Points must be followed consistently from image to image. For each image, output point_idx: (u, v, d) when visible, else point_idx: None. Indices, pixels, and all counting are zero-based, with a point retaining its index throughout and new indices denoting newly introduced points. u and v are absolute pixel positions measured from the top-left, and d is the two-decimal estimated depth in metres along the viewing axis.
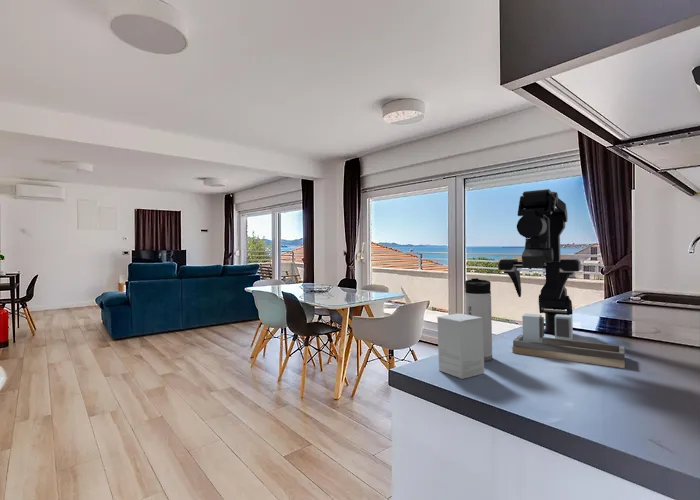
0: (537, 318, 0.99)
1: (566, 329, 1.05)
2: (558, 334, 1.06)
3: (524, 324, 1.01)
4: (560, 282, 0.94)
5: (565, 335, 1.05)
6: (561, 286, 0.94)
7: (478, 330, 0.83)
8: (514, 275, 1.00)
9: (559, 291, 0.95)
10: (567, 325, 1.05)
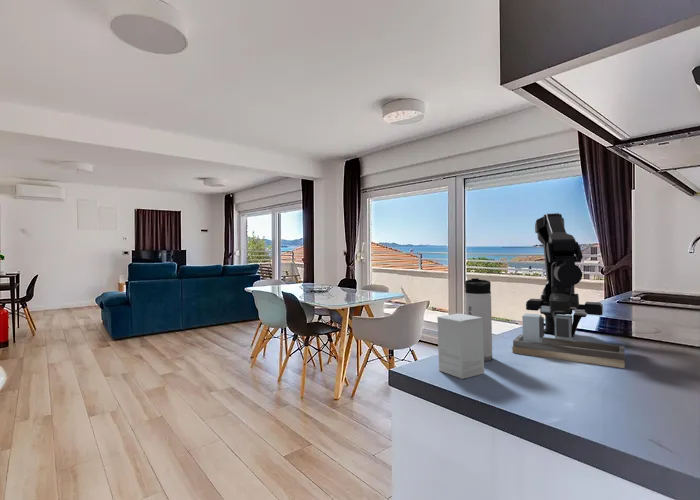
0: (537, 318, 0.99)
1: (566, 329, 1.05)
2: (558, 334, 1.06)
3: (524, 324, 1.01)
4: (574, 323, 1.05)
5: (565, 335, 1.05)
6: (575, 326, 1.05)
7: (478, 330, 0.83)
8: (550, 316, 1.07)
9: (573, 331, 1.05)
10: (567, 325, 1.05)
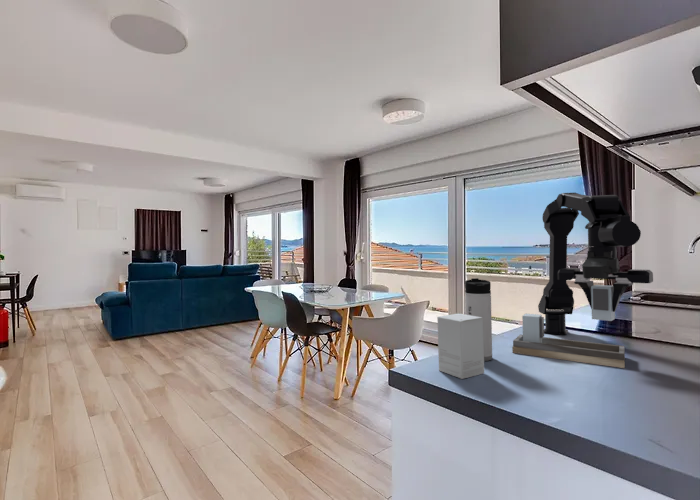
0: (537, 318, 0.99)
1: (605, 301, 0.89)
2: (595, 307, 0.91)
3: (524, 324, 1.01)
4: (615, 294, 0.89)
5: (604, 308, 0.89)
6: (616, 298, 0.89)
7: (478, 330, 0.83)
8: (586, 286, 0.92)
9: (614, 303, 0.89)
10: (606, 296, 0.89)
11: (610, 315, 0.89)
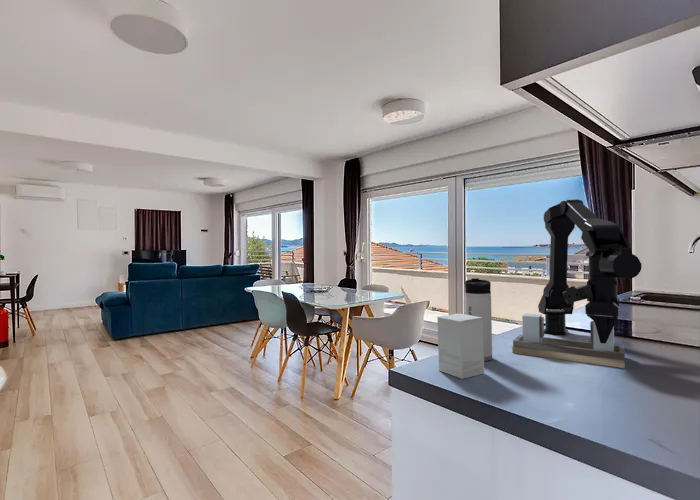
0: (537, 318, 0.99)
1: None
2: None
3: (524, 324, 1.01)
4: None
5: None
6: None
7: (478, 330, 0.83)
8: None
9: (598, 334, 0.89)
10: (590, 329, 0.92)
11: None
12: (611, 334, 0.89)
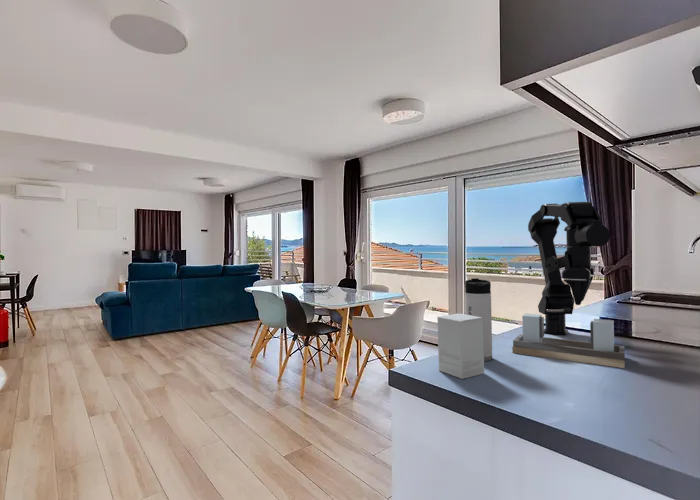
0: (537, 318, 0.99)
1: None
2: None
3: (524, 324, 1.01)
4: None
5: None
6: (572, 292, 1.01)
7: (478, 330, 0.83)
8: None
9: None
10: (590, 329, 0.92)
11: None
12: (611, 334, 0.89)
